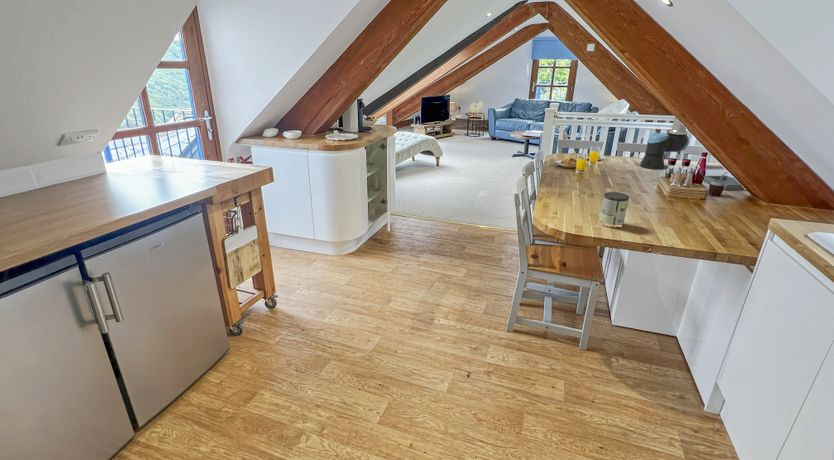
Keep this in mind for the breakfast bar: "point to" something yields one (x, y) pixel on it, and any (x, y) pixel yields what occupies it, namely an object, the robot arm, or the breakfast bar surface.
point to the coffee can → (614, 208)
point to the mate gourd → (716, 187)
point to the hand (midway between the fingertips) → (731, 164)
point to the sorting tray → (725, 182)
